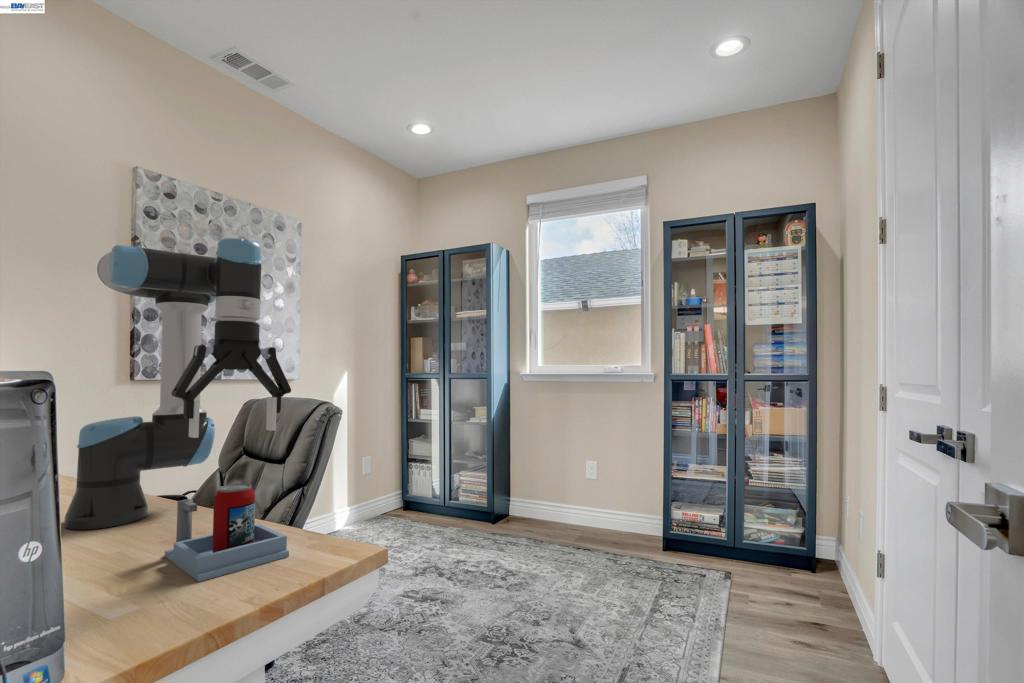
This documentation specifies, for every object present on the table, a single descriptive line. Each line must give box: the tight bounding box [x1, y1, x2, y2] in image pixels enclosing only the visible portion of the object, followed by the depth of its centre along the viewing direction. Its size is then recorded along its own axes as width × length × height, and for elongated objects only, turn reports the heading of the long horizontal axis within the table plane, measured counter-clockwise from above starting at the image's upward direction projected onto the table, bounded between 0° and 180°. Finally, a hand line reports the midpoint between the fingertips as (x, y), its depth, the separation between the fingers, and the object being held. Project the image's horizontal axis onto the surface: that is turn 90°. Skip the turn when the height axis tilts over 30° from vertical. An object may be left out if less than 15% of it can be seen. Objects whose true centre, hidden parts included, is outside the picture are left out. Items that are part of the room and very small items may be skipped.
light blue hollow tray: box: [164, 498, 290, 583], centre depth 95 cm, size 18×15×10 cm
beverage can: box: [212, 483, 256, 553], centre depth 94 cm, size 7×7×12 cm
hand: (234, 433), depth 95 cm, fingers open, 13 cm apart
